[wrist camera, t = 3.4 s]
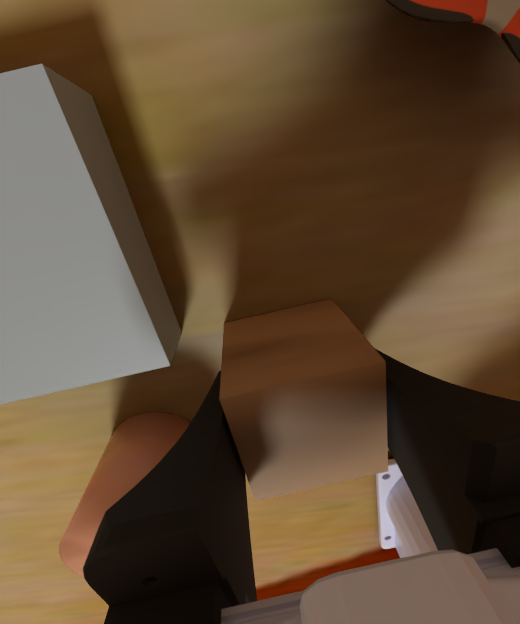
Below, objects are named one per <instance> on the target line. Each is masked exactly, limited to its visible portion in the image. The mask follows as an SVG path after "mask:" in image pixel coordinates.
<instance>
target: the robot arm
mask: <svg viewBox="0 0 520 624" xmlns="http://www.w3.org/2000/svg"><path fill="white" fill-rule="evenodd" d="M375 350H376V351H377V352H378V353H379V354H380V355H381V357H382V358H383V359H384V360H385V361H386V399H387V443H388V448H389V450H390V451H391V453H392V455H393V457H394V458H393V459H389V460H388V472H383V473H379V474H376V488H377V508H378V527H379V542H380V545H381V547H382V548H384V549H389V548H393V547H396V549H397V551H398V553H399V556H400V559H395V560H391V561H386V562H382V563H377V564H373V565H368V566H364V567H359V568H355V569H350V570H346V571H341V572H337V573H334V574H331V575H329V576H326V577H323V578H320V579H318V580H316V581H315V582H314V583H313V584H311V585H310V586H309V587H308V588H306V589H305V591H300V592H296V593H291V594H287V595H282V596H278V597H273V598H269V599H264V600H260V601H257V596H256V587H255V578H254V570H253V560H252V550H251V540H250V530H249V519H248V508H247V495H246V480H245V470H244V467H243V464H242V461H241V459H240V456H239V453H238V450H237V447H236V445H235V442H234V439H233V436H232V433H231V430H230V428H229V425H228V422H227V419H226V416H225V414H224V411H223V408H222V405H221V402H220V400H219V397H220V382H221V371H219V373H218V374H217V376H216V378H215V381H214V383H213V385H212V387H211V389H210V391H209V393H208V394H207V396H206V398H205V400H204V402H203V404H202V405H201V407H200V409H199V410H198V412H197V414H196V415H195V417H194V418H193V420H192V422H191V423H190V424H189V426H188V427H187V429H186V430H185V432H184V433H183V434H182V436H181V437H180V438H179V440H178V441H177V442H176V443H175V445H174V446H173V447H172V448H171V449H170V450H169V451H168V453H167V454H166V455H165V456H164V457H163V458H162V459H161V461H160V462H159V463H158V464H157V465H156V466H155V467H154V468H153V469H152V470H151V471H150V472H149V473H148V474H147V475H146V476H145V477H144V478H143V479H142V480H141V481H140V482H139V483H138V484H137V485H135V486H134V487H133V488H132V489H131V490H130V491H129V492H128V493H126V494H125V495H124V496H123V497H122V498H121V499H119V500H118V501H117V502H116V503H115V504H114V505H112V506H111V507H110V508H109V509H108V510H106V512H105V514H104V516H103V518H102V521H101V523H100V525H99V527H98V530H97V533H96V535H95V538H94V541H93V543H92V546H91V548H90V551H89V554H88V556H87V559H86V561H85V564H84V567H83V574H84V578H85V580H86V581H87V583H88V584H89V586H90V587H91V588H92V589H93V590H94V591H95V592H96V593H97V594H98V595H99V596H100V597H101V598H102V599H103V600H104V601H105V602H106V603H107V604H108V605H109V609H108V612H107V616H106V619H105V622H104V624H520V402H519V401H515V400H510V399H506V398H501V397H497V396H493V395H489V394H485V393H481V392H478V391H474V390H471V389H468V388H464V387H461V386H458V385H455V384H452V383H449V382H446V381H443V380H440V379H438V378H435V377H433V376H430V375H427V374H425V373H423V372H420V371H418V370H416V369H414V368H411V367H409V366H407V365H405V364H403V363H401V362H399V361H397V360H395V359H393V358H391V357H389V356H387V355H386V354H384V353H382V352H380V351H378V350H377V349H375Z"/></svg>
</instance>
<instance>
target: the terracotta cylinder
mask: <svg viewBox="0 0 520 624" xmlns="http://www.w3.org/2000/svg"><path fill="white" fill-rule="evenodd" d="M189 424H190V422H189V421H187V420H186V419H184V418H182V417H180V416H177V415H174V414H169V413H163V412H147V413H141V414H138V415H135V416H132V417H130V418H128V419H126V420H124V421H123V422H122V423H120V424H119V425H118V426H117V428H116V429H115V430H114V432H113V434H112V436H111V438H110V441H109V443H108V445H107V447H106V449H105V451H104V453H103V455H102V457H101V459H100V461H99V463H98V465H97V468H96V470H95V472H94V474H93V476H92V478H91V480H90V482H89V484H88V486H87V488H86V490H85V492H84V494H83V497H82V499H81V501H80V503H79V505H78V507H77V509H76V511H75V513H74V515H73V517H72V519H71V521H70V524H69V526H68V528H67V530H66V532H65V534H64V536H63V538H62V540H61V542H60V546H59V554H60V557H61V559H62V561H63V563H64V564H65V565H66V566H67V567H68V568H69V569H70V570H71V571H72V572H74V573H75V574H77V575H79V576H81V577H83V578H84V574H83V567H84V564H85V561H86V559H87V556H88V554H89V551H90V548H91V546H92V543H93V541H94V538H95V535H96V533H97V530H98V527H99V525H100V523H101V521H102V518H103V516H104V514H105V512H106V510H108V509H109V508H110V507H111V506H112V505H114V504H115V503H116V502H117V501H118V500H119V499H121V498H122V497H123V496H124V495H125V494H126V493H128V492H129V491H130V490H131V489H132V488H133V487H134V486H135V485H137V484H138V483H139V482H140V481H141V480H142V479H143V478H144V477H145V476H146V475H147V474H148V473H149V472H150V471H151V470H152V469H153V468H154V467H155V466H156V465H157V464H158V463H159V462H160V461H161V459H162V458H163V457H164V456H165V455H166V454H167V453H168V451H169V450H170V449H171V448H172V447H173V446H174V445H175V443H176V442H177V441H178V440H179V438H180V437H181V436H182V434H183V433H184V432H185V430H186V429H187V427H188V426H189Z"/></svg>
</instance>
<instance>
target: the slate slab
mask: <svg viewBox="0 0 520 624" xmlns="http://www.w3.org/2000/svg"><path fill="white" fill-rule="evenodd" d="M181 334H182V332H181V329H180V327H179V324H178V321H177V319H176V316H175V314H174V311H173V308H172V306H171V303H170V300H169V298H168V295H167V292H166V290H165V287H164V285H163V282H162V279H161V277H160V274H159V271H158V269H157V266H156V263H155V261H154V258H153V256H152V253H151V250H150V248H149V245H148V242H147V240H146V237H145V234H144V232H143V229H142V227H141V224H140V221H139V219H138V216H137V213H136V211H135V208H134V205H133V203H132V200H131V198H130V195H129V192H128V190H127V187H126V184H125V182H124V179H123V176H122V174H121V171H120V168H119V166H118V163H117V161H116V158H115V155H114V153H113V150H112V147H111V145H110V142H109V139H108V137H107V134H106V132H105V129H104V126H103V124H102V121H101V118H100V116H99V113H98V110H97V108H96V105H95V103H94V100H93V97H92V95H91V94H89V93H88V92H86V91H85V90H83V89H82V88H80V87H78V86H77V85H75V84H74V83H72V82H71V81H69V80H67V79H66V78H64V77H63V76H61V75H59V74H58V73H56V72H55V71H53V70H52V69H50V68H48V67H47V66H45V65H44V64H38V65H33V66H29V67H25V68H21V69H17V70H12V71H8V72H4V73H0V405H1V404H5V403H10V402H14V401H19V400H23V399H27V398H32V397H36V396H40V395H45V394H49V393H54V392H58V391H62V390H67V389H71V388H75V387H80V386H84V385H89V384H93V383H97V382H102V381H106V380H110V379H115V378H119V377H124V376H128V375H132V374H137V373H141V372H145V371H150V370H154V369H159V368H163V367H167V366H170V365H171V363H172V360H173V357H174V354H175V351H176V348H177V345H178V342H179V339H180V336H181Z"/></svg>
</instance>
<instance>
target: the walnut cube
mask: <svg viewBox="0 0 520 624" xmlns="http://www.w3.org/2000/svg"><path fill="white" fill-rule="evenodd" d="M219 400H220V402H221V405H222V408H223V411H224V414H225V416H226V419H227V422H228V425H229V428H230V430H231V433H232V436H233V439H234V442H235V445H236V447H237V450H238V453H239V456H240V459H241V461H242V464H243V467H244V470H245V473H246V475H247V478H248V481H249V484H250V487H251V489H252V492H253V495H254V498H255V501H259V500H263V499H267V498H272V497H276V496H281V495H285V494H290V493H294V492H299V491H303V490H307V489H312V488H316V487H321V486H325V485H330V484H334V483H339V482H343V481H347V480H352V479H356V478H361V477H365V476H370V475H374V474H379V473H383V472H388V443H387V399H386V361H385V360H384V359H383V358H382V357H381V355H380V354H379V353H378V352H377V351H376V350H375V348H374V347H373V346H372V345H371V344H370V343H369V341H368V340H367V339H366V338H365V337H364V336H363V335H362V333H361V332H360V331H359V330H358V329H357V328H356V326H355V325H354V324H353V323H352V322H351V321H350V319H349V318H348V317H347V316H346V315H345V314H344V313H343V311H342V310H341V309H340V308H339V307H338V306H337V304H336V303H335V302H334V301H333V300H332V299H327V300H322V301H318V302H314V303H309V304H305V305H301V306H296V307H292V308H288V309H283V310H279V311H275V312H270V313H266V314H262V315H257V316H253V317H249V318H244V319H240V320H236V321H231V322H227V323H224V334H223V350H222V366H221V382H220V397H219Z"/></svg>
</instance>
